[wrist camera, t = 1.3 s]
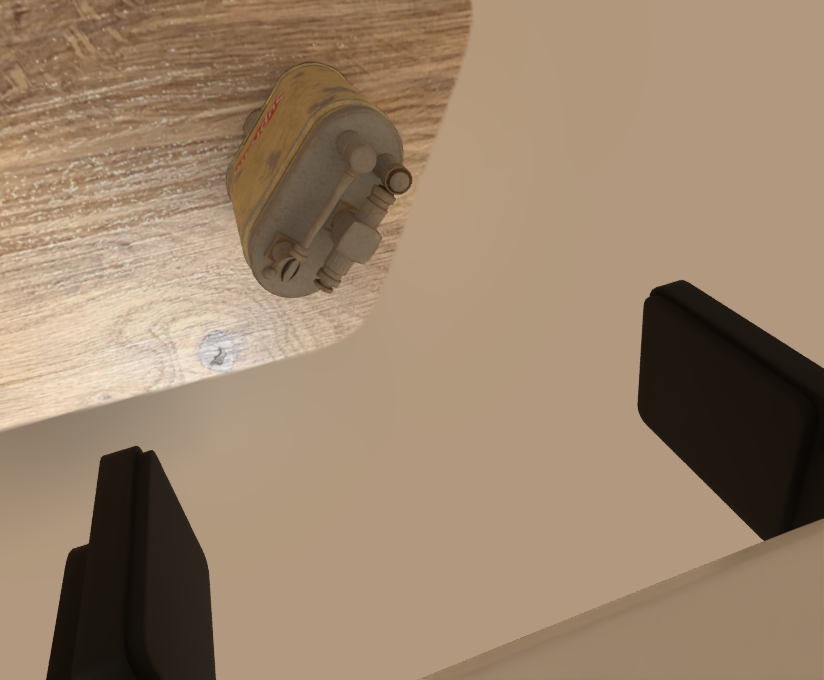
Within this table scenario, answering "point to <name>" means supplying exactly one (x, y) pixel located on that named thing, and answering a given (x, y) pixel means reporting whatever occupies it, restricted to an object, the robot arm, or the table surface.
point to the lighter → (313, 181)
